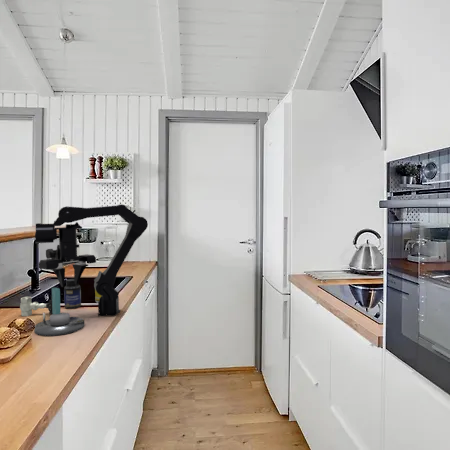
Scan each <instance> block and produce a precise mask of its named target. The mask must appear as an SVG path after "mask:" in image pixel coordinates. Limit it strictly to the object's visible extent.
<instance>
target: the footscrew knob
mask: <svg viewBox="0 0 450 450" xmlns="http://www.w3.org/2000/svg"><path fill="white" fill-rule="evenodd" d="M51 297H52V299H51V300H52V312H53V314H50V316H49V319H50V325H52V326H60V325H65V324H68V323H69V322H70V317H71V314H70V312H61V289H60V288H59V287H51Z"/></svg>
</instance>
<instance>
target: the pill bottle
mask: <svg viewBox="0 0 450 450" xmlns="http://www.w3.org/2000/svg"><path fill="white" fill-rule="evenodd" d="M79 282H80V281H79ZM79 282H78V284H77V285H76V284H75V282H74V278H68V279H65V284H66V285H64V287H63V288H64V289H63V292H64V293H63V294H64V295H63V296H64V297H63V299H64V308H65V309H67V310H68V309H69V310H70V309H71V310H72V309H77V308H81V306H82V290H81V289H82V288H81V287H82V286H81V285H80V284H79Z"/></svg>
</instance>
